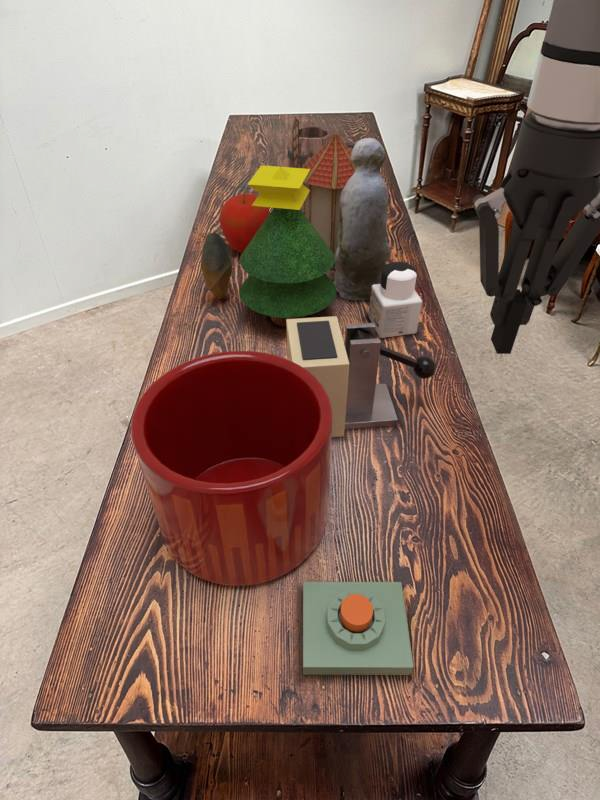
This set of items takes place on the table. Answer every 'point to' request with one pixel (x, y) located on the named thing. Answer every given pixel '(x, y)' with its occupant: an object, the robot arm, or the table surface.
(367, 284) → the sculpture
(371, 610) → the button
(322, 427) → the planter
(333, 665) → the control block
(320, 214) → the miniature windmill
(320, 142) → the tankard
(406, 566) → the table surface
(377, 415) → the metal lever stand
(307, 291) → the decorative tree
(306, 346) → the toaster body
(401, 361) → the toaster lever
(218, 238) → the decorative stone
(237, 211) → the apple
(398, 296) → the container
